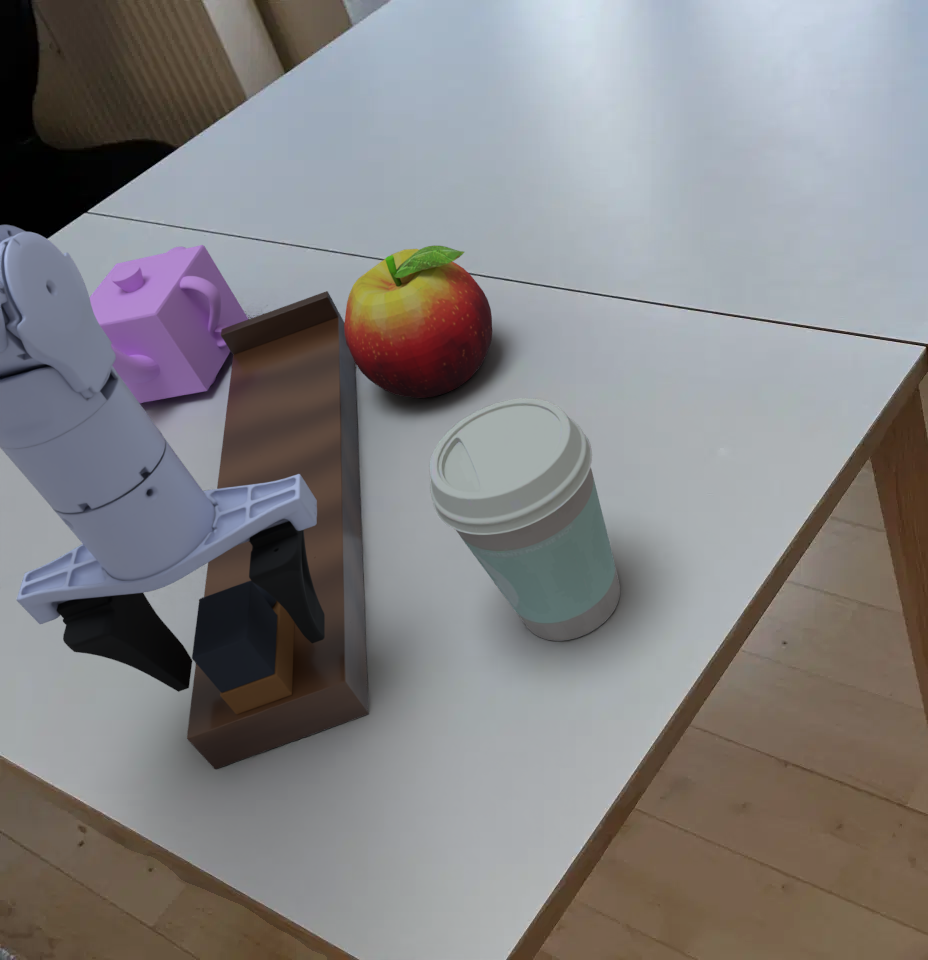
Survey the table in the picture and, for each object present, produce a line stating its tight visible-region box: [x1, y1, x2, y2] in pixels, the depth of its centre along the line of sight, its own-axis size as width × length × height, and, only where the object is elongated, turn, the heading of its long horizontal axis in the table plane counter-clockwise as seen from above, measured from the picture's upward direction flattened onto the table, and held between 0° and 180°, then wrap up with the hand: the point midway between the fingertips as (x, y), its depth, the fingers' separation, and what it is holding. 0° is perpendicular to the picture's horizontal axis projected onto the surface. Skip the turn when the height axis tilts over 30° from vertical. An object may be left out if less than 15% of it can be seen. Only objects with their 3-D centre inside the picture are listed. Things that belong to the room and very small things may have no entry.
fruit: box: [344, 245, 493, 399], centre depth 81 cm, size 11×11×10 cm
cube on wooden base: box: [191, 581, 294, 714], centre depth 60 cm, size 7×3×5 cm, turn 13°
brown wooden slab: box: [186, 290, 370, 770], centre depth 74 cm, size 40×9×5 cm, turn 13°
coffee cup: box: [428, 397, 621, 642], centre depth 59 cm, size 8×8×12 cm
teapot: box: [89, 244, 249, 404], centre depth 91 cm, size 18×14×10 cm
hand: (251, 652), depth 60 cm, fingers open, 7 cm apart
